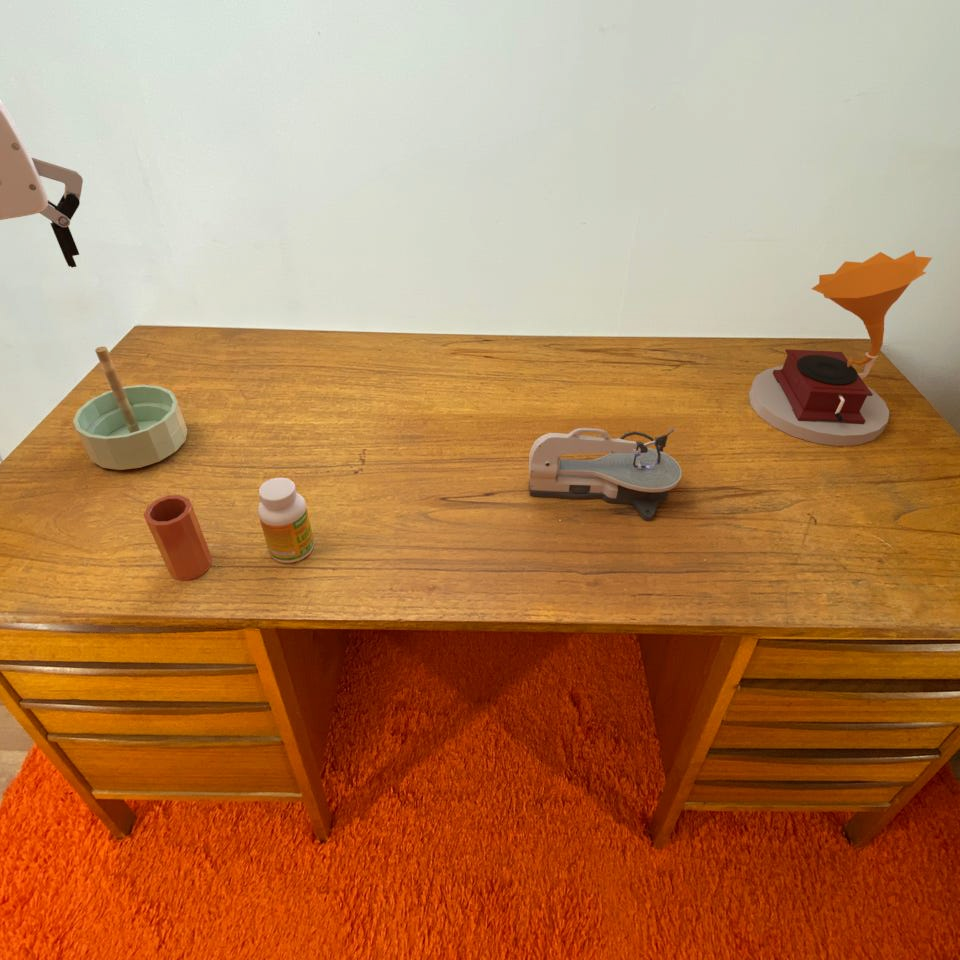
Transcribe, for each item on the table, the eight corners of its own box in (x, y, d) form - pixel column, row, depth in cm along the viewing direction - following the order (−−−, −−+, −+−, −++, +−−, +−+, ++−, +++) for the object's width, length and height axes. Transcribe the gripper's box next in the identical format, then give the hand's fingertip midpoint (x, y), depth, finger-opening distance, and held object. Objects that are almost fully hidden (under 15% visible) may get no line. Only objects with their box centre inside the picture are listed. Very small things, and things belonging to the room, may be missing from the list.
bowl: (100, 485, 86) (82, 449, 82) (82, 436, 95) (66, 402, 91) (199, 452, 92) (187, 417, 88) (174, 409, 100) (163, 375, 96)
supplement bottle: (307, 565, 76) (293, 505, 70) (263, 563, 76) (245, 503, 70) (319, 533, 80) (307, 474, 74) (277, 531, 80) (261, 471, 74)
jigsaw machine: (534, 453, 76) (531, 399, 85) (528, 517, 83) (526, 462, 91) (703, 458, 76) (682, 404, 84) (683, 522, 83) (666, 466, 91)
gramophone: (855, 378, 111) (922, 232, 94) (907, 450, 95) (998, 290, 79) (735, 372, 112) (781, 226, 95) (767, 442, 96) (828, 282, 80)
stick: (135, 445, 92) (96, 352, 82) (132, 440, 93) (94, 348, 83) (145, 441, 93) (107, 349, 83) (142, 437, 94) (105, 345, 84)
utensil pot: (175, 586, 73) (150, 531, 67) (164, 560, 76) (139, 505, 70) (217, 569, 75) (196, 513, 69) (205, 544, 78) (184, 489, 72)
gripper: (-208, 94, 48) (-82, 306, 59) (48, 76, 56) (117, 267, 67) (-198, 79, 53) (-84, 278, 64) (37, 64, 61) (103, 245, 72)
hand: (19, 272), depth 65 cm, fingers open, 9 cm apart
